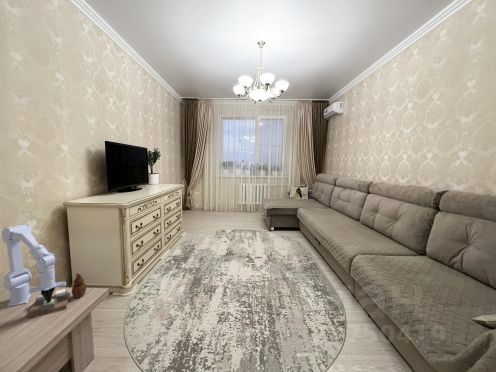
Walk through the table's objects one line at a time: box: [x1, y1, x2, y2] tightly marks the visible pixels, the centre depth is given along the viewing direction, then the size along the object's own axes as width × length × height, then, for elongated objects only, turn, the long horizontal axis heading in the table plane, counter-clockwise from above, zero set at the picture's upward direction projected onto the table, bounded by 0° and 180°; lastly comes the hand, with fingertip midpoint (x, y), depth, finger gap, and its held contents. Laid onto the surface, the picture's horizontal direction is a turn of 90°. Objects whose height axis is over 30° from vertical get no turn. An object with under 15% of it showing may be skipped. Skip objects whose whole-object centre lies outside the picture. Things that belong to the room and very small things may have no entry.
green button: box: [43, 299, 55, 306], centre depth 118 cm, size 4×4×2 cm
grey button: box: [36, 293, 45, 301], centre depth 122 cm, size 4×4×2 cm
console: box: [27, 289, 71, 319], centre depth 121 cm, size 14×15×4 cm
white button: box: [54, 288, 67, 297], centre depth 126 cm, size 4×4×2 cm
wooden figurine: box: [71, 273, 87, 299], centre depth 130 cm, size 7×6×15 cm
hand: (49, 301), depth 118 cm, fingers closed, pressing on green button
